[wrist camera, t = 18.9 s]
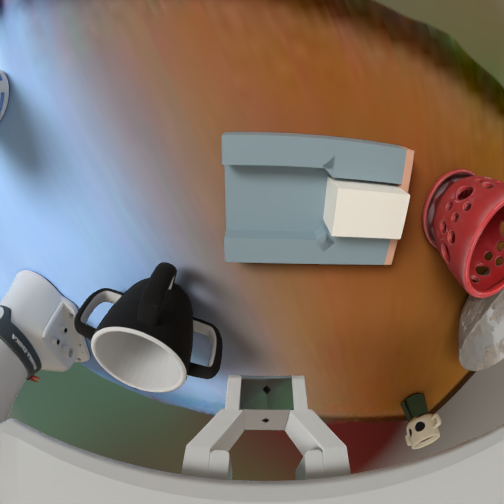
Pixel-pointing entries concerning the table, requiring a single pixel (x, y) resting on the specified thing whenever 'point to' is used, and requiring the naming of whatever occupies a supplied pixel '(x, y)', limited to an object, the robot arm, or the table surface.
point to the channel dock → (301, 196)
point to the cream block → (364, 208)
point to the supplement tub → (3, 93)
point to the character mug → (420, 422)
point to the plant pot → (467, 228)
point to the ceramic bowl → (481, 331)
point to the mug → (149, 334)
